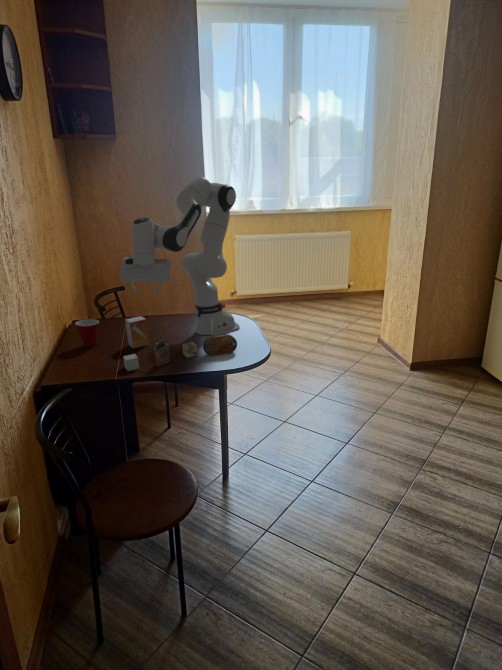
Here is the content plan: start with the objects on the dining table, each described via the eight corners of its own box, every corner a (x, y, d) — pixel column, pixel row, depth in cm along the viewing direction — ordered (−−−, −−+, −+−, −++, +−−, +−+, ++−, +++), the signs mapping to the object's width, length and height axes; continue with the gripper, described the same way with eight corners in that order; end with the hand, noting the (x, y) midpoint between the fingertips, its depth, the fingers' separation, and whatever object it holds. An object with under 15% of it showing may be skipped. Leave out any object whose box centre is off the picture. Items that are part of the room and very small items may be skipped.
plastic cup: (107, 344, 225) (103, 320, 221) (86, 351, 218) (82, 326, 213) (95, 339, 232) (91, 316, 228) (75, 345, 225) (70, 322, 220)
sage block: (136, 364, 200) (135, 353, 198) (139, 368, 196) (137, 357, 194) (124, 367, 198) (123, 356, 196) (127, 371, 194) (125, 360, 192)
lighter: (159, 366, 196) (157, 344, 193) (153, 365, 198) (151, 343, 195) (172, 359, 203) (170, 338, 199) (166, 358, 204) (164, 337, 201)
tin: (204, 356, 204) (202, 338, 201) (203, 354, 207) (201, 336, 204) (237, 352, 207) (236, 335, 204) (236, 350, 210) (235, 332, 207)
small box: (133, 349, 217) (129, 322, 213) (128, 345, 222) (124, 319, 218) (149, 344, 221) (146, 318, 217) (144, 341, 226) (141, 315, 222)
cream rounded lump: (193, 351, 211) (192, 341, 209) (197, 355, 206) (196, 345, 205) (183, 354, 209) (182, 343, 207) (186, 358, 204) (185, 347, 203)
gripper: (170, 257, 195) (172, 289, 200) (120, 258, 193) (123, 290, 197) (170, 259, 189) (171, 293, 194) (118, 260, 187) (121, 294, 191)
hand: (146, 292), depth 195 cm, fingers open, 8 cm apart
